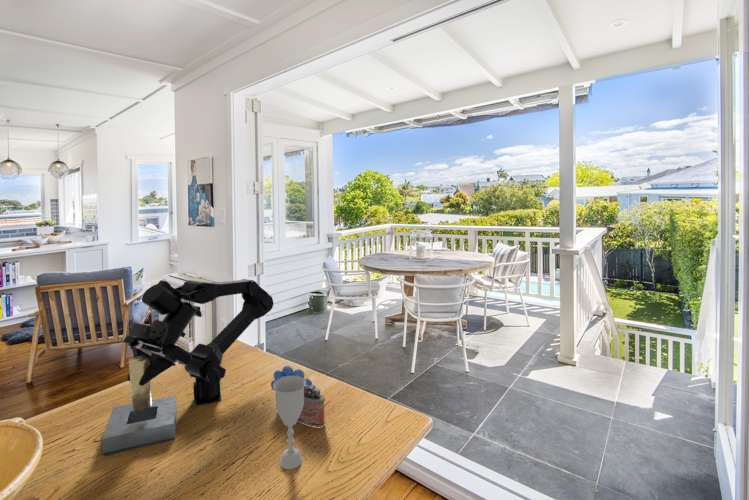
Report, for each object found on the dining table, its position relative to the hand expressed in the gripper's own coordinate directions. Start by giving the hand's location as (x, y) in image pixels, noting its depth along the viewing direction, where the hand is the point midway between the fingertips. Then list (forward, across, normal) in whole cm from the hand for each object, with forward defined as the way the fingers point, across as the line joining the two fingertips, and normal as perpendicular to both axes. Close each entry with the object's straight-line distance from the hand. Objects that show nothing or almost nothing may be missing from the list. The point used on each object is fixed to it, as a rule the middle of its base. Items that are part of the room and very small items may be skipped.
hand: (134, 383), depth 88 cm
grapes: (-8, +25, +28) cm, 39 cm away
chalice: (+3, +38, +17) cm, 41 cm away
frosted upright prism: (+4, 0, +6) cm, 7 cm away
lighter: (-7, +33, +26) cm, 43 cm away
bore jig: (+8, -1, +11) cm, 14 cm away
